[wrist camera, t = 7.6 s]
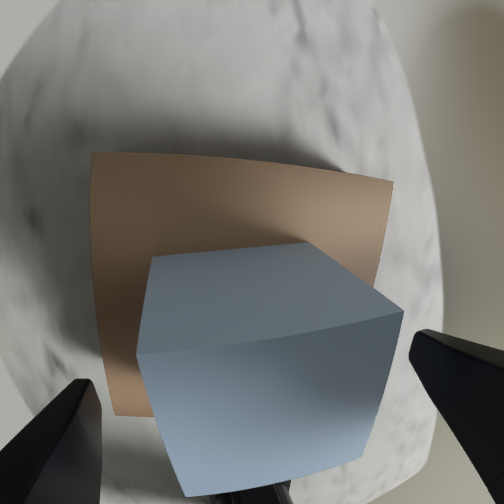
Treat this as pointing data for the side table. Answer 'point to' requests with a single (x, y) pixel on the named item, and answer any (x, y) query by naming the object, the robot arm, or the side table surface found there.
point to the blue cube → (262, 363)
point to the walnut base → (211, 232)
